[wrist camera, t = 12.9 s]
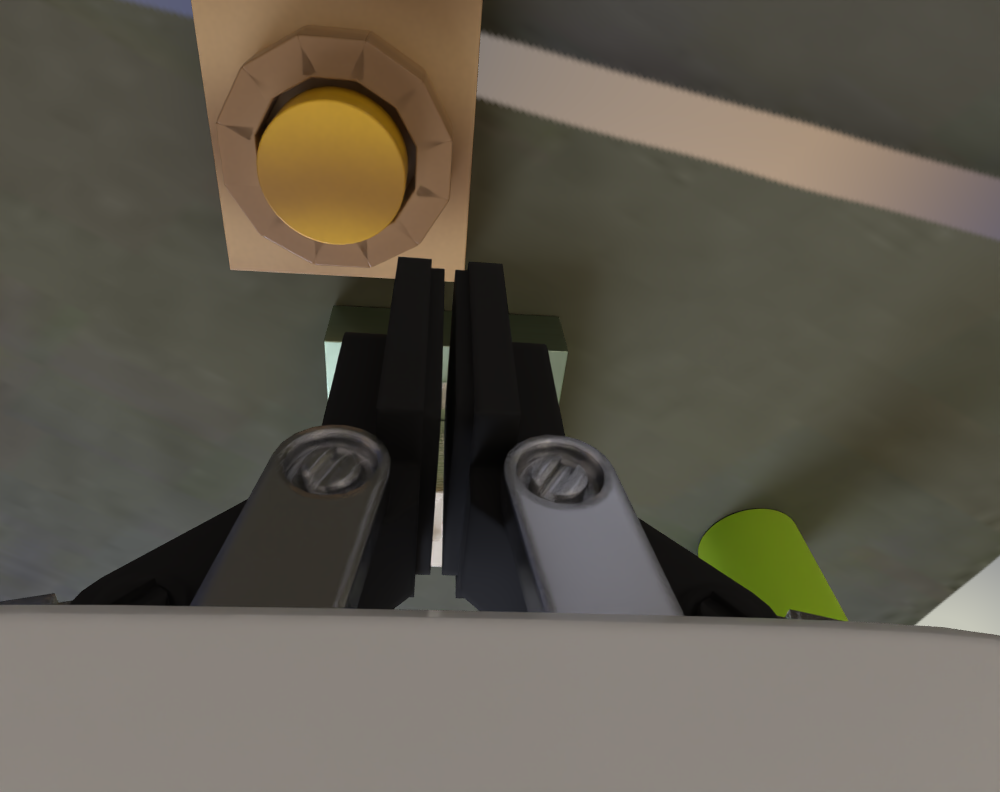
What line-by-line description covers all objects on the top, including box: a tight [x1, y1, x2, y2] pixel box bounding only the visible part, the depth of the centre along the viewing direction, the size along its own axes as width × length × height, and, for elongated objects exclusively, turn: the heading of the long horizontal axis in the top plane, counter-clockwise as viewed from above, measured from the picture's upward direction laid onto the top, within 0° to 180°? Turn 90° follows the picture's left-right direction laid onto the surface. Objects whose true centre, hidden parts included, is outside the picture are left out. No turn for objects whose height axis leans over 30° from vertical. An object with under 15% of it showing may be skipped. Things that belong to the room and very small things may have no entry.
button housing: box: [191, 0, 483, 282], centre depth 25 cm, size 10×9×4 cm
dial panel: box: [324, 306, 568, 421], centre depth 33 cm, size 12×10×3 cm
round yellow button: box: [256, 86, 408, 245], centre depth 23 cm, size 5×5×2 cm
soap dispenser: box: [698, 509, 848, 621], centre depth 33 cm, size 6×7×20 cm
